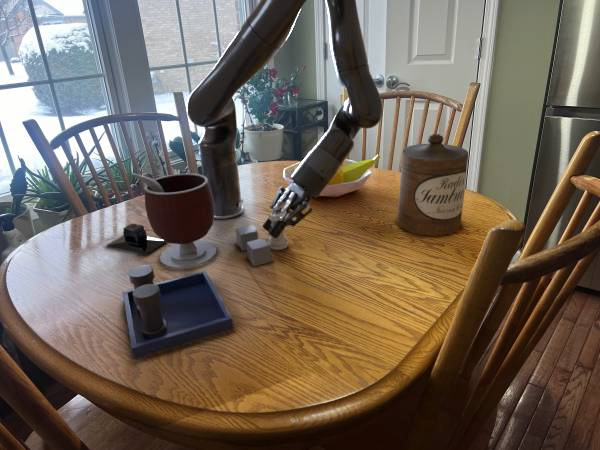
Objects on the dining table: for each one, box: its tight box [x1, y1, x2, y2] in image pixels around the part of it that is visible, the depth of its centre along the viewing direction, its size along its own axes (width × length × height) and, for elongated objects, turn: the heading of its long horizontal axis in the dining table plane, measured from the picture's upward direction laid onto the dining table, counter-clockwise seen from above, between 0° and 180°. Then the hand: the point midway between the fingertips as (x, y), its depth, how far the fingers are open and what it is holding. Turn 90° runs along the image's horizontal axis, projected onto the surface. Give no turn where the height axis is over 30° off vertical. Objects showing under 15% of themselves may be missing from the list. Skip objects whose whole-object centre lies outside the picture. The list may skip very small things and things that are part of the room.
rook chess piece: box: [268, 212, 289, 251], centre depth 98 cm, size 4×4×8 cm
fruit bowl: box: [282, 154, 381, 198], centre depth 130 cm, size 28×27×11 cm
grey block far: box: [234, 224, 259, 252], centre depth 100 cm, size 4×4×4 cm
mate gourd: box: [130, 172, 217, 268], centre depth 93 cm, size 16×14×20 cm
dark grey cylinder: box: [133, 283, 168, 340], centre depth 70 cm, size 4×4×8 cm
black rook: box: [128, 264, 161, 315], centre depth 76 cm, size 4×4×8 cm
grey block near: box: [246, 237, 273, 267], centre depth 93 cm, size 4×4×4 cm
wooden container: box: [397, 133, 469, 237], centre depth 103 cm, size 15×15×22 cm
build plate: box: [106, 223, 167, 256], centre depth 103 cm, size 12×7×5 cm, turn 65°
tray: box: [121, 270, 234, 360], centre depth 76 cm, size 18×16×3 cm
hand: (269, 232), depth 97 cm, fingers closed on rook chess piece, 3 cm apart
